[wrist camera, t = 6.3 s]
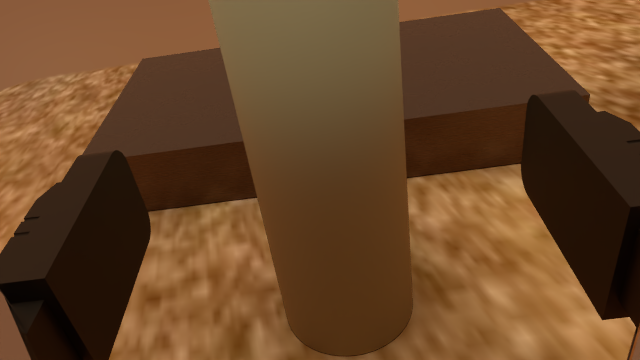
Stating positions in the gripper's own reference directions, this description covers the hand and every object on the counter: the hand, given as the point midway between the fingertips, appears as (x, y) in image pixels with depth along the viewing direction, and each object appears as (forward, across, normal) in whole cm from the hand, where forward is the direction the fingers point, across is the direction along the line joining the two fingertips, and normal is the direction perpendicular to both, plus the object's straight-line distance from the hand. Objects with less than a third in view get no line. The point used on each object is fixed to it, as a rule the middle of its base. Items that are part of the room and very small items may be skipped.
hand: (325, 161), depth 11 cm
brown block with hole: (+17, 0, +8) cm, 19 cm away
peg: (+4, 0, +8) cm, 9 cm away
